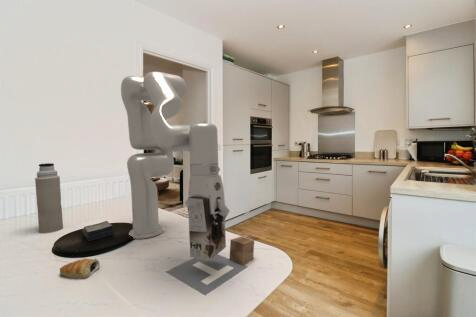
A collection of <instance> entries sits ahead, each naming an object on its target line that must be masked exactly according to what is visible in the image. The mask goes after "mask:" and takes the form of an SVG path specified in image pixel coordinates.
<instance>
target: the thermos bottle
mask: <svg viewBox="0 0 476 317" xmlns="http://www.w3.org/2000/svg"><path fill="white" fill-rule="evenodd" d="M38 167H39V170H38V171H37V172H36V177H35V178H34V181H35V183H34V184H35V193H36V194H35V195H36V207H37V208H36V209H37V220H38V221H37V222H38V232H39V233H40V234H50V233H54V232H58V231H60V230H62V229H64V222H63V210H62V192H61V181H60V180H61V179H60V175H58V170H55V164H54V163H51V162H50V163H49V162H48V163H39V164H38Z"/></svg>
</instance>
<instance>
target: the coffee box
mask: <svg viewBox="0 0 476 317" xmlns="http://www.w3.org/2000/svg"><path fill="white" fill-rule="evenodd" d="M187 199H188V208H187V212H188V234H189V235H188V236H189V237H188V238H189V256H190V258H192V259H193V258H198V259H202V260H206V261H210V260H211V259H212V258H213V257H215V256H216V255H217V254H218V255H219V254H220V253H221V252H222V251H223V250H224V249H225V248H226V247H227V246H226V245H227V243H226V219H225V220H224V222H223V223H222V237H220V238H218V239H216V240H212V228H211V226H212V225H213V222H212V218H211V215H210V210H209V199H208V198H202V197H194V196H192V197H189V196H188V197H187ZM215 212H216V209H215ZM215 217H216V219H217V218H218V217H217V214H216V215H215Z"/></svg>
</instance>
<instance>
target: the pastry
mask: <svg viewBox="0 0 476 317" xmlns="http://www.w3.org/2000/svg"><path fill="white" fill-rule="evenodd" d="M100 266H101V263H100V261H99V260H98V259H97V258H83V259H78V260H74V261H73V262H69V263H67V264H64V265H63V266H61V267H60V268H59V273H60V275H61V276H63V277H66V278H68V279H77V280H78V279H87V278H90V277H91V276H92V275H94V273H95V272H96V271H97V270H99V268H100Z"/></svg>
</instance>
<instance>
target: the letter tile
mask: <svg viewBox="0 0 476 317" xmlns="http://www.w3.org/2000/svg"><path fill="white" fill-rule="evenodd" d="M229 259H230V258H228V257H226V256H223V255H221V254H219V253H218V254H217V255H216V256H215V257H213V258H212V259H211V260H210V261H206V260H202V259H198V258H193V257H192V258H191V259H188V260H187V261H185V262H182V263H181V264H179V265H177V266H174V267H173V268H171V269H168V270H166V271H165V273H166V274H168V275H170V276H172V277H174V278H175V279H177V280H178V281H180V282H182V283H183V284H185V285H187V286H189V287H190V288H192V289H194V290H195V291H197V292H199V293H200V294H202V295H204V296H207V295H208V294H210V293H211V292H213V291H214V290H216V289H217V288H219V287H220V286H222V285H223V284H224V283H227V281H229V280H230V279H232V278H233V277H235V276H237V275H238V274H239V273H240V272H243V271H244V270H245V269H247V268H248V265H246V264H245V265H240V264H238V263H235V262H233V261H230V260H229Z"/></svg>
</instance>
